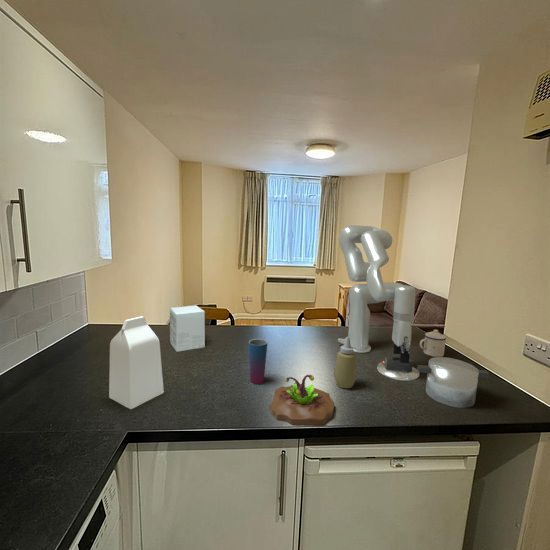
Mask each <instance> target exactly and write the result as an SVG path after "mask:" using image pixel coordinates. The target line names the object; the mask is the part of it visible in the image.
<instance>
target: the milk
mask: <svg viewBox="0 0 550 550" xmlns="http://www.w3.org/2000/svg"><path fill="white" fill-rule="evenodd" d="M160 344H161V343H160V340H159V337H158V336H157V335H156V334H155V331H154V330H152V327H150V326H149V325H148V322H147V320H146V317H145V316H142V315H141V316H136V317H133V318H129V319H125V320H124V321H123V325H122V327H121V329H120V330H119V331H118V333H116V334H115V336H113V338H112V339H111V340H110V343H109V374H108V375H109V378H108V379H109V382H108V383H109V384H108V385H109V389H108V392H109V394H108V398H109V399H111V400H113V401H114V402H116V403H118V404H120V405H122V406H123V407H125V408H127V409H129V410H132V409H134V408H137V407H138V406H140V405H143V404H144V403H146V402H148V401H150V400H152V399H155V398H157V397H158V396H160V395H162V394H164V393H165V392H164V390H165V389H164V379H163V369H162V355H161V345H160Z"/></svg>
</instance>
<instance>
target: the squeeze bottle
mask: <svg viewBox="0 0 550 550" xmlns="http://www.w3.org/2000/svg"><path fill="white" fill-rule="evenodd" d="M345 338H346V339H345ZM345 338H344V339H345V343H344V344H343V345H341V346H340V348H339V349H340V350H339V351H338V352H337V353H336V361H335V366H334V370H333V372H334V373H333V376H334V379H335V383H336V385H337V386H338V388H341V389H351V388H353V386H354V384H355V382H356V380H357V356H356V354H355V352H353V351H354V348H353V347H351V345H350V339H349V337H348V336H346V337H345Z"/></svg>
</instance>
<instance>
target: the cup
mask: <svg viewBox="0 0 550 550" xmlns="http://www.w3.org/2000/svg"><path fill="white" fill-rule="evenodd" d="M267 351H268V340H266V339H263V338H253V339H250V340H248V354H249V355H248V356H249V357H248V358H249V362H248V363H249V382H250V383H251V384H253V385H260V384H262V383H264V381H265V373H266V371H265V370H266V362H267V361H266V360H267Z"/></svg>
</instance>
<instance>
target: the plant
mask: <svg viewBox="0 0 550 550" xmlns="http://www.w3.org/2000/svg"><path fill="white" fill-rule="evenodd" d="M307 378H309V381H314V380H315V376H313V375H312V374H306V375H304V377H303V378H302V379H301V383H300V382H299V380H297V378H295V377H293V376H289V377H286V378H285V379H284V380H285V382H286V383H289V381H290V380H293V381H294V383H293V384H291V385H289V386H279V387H278V388H276V389H275V390H274V396H273V399H272V401H271V403H270V406H269V411H270V413H271V416H273V417H274V418H275V420H276V421H283V422H286V423H288V424H289V425H292V426H312V427H313V426H316V427H318V426H321V427H322V426H324V424H325V423H326V422H328V421H329V420H330V419H332V417H333V415H334V408H335V402H334V401H333V400H332V399H331V396H330V393H329V392H326V391H324V390H322V389H318V388H315V386H314V384H311V385H308V386H306V385H305V383H306V380H307Z"/></svg>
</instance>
